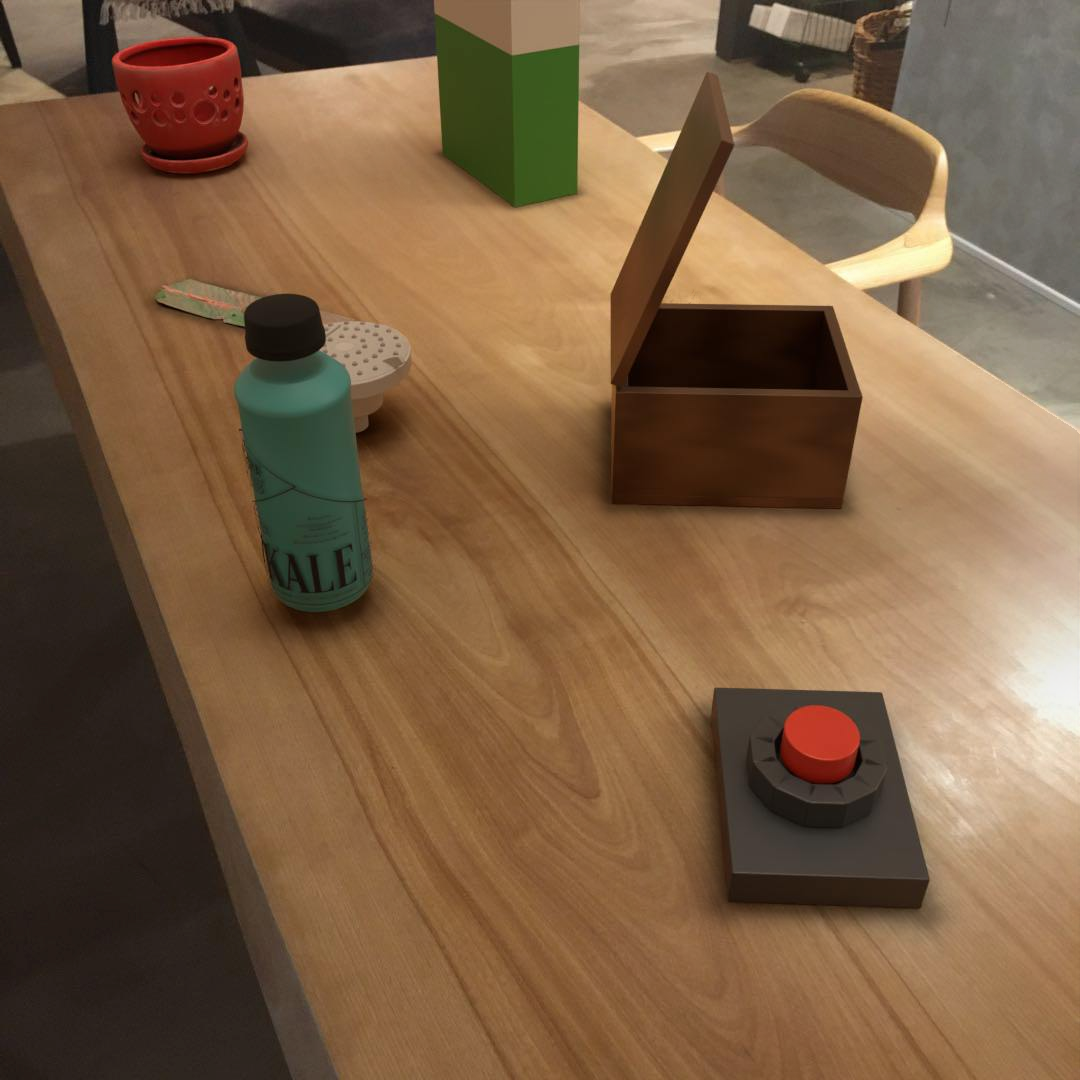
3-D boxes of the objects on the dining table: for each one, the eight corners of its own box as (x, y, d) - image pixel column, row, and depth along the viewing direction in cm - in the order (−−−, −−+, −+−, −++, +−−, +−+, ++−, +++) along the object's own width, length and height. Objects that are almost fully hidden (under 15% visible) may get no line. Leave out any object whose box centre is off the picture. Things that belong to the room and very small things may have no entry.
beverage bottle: (342, 552, 76) (302, 265, 64) (399, 604, 72) (369, 308, 60) (252, 594, 73) (192, 300, 61) (307, 651, 69) (255, 348, 57)
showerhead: (361, 387, 79) (248, 350, 83) (372, 476, 83) (264, 437, 87) (442, 329, 85) (333, 298, 89) (447, 415, 90) (343, 381, 94)
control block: (710, 715, 65) (716, 662, 62) (875, 720, 65) (888, 667, 62) (727, 901, 55) (735, 848, 53) (921, 908, 55) (938, 855, 53)
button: (776, 728, 59) (780, 703, 58) (848, 730, 59) (853, 705, 58) (784, 783, 56) (788, 759, 55) (860, 786, 56) (866, 761, 55)
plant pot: (270, 142, 137) (253, 33, 129) (230, 185, 127) (210, 69, 119) (163, 137, 138) (141, 30, 131) (115, 179, 128) (88, 65, 121)
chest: (816, 410, 90) (833, 305, 84) (842, 508, 80) (863, 396, 74) (611, 406, 90) (615, 302, 85) (611, 503, 80) (615, 392, 75)
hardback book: (442, 153, 133) (429, -82, 119) (500, 142, 136) (494, -90, 121) (514, 207, 121) (510, -49, 106) (577, 193, 124) (580, -58, 109)
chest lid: (718, 75, 75) (706, 70, 75) (735, 144, 65) (721, 139, 65) (620, 298, 85) (610, 294, 85) (621, 388, 75) (610, 384, 75)
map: (182, 283, 109) (179, 274, 108) (365, 320, 101) (364, 310, 100) (144, 306, 105) (141, 296, 105) (331, 346, 97) (329, 336, 96)
